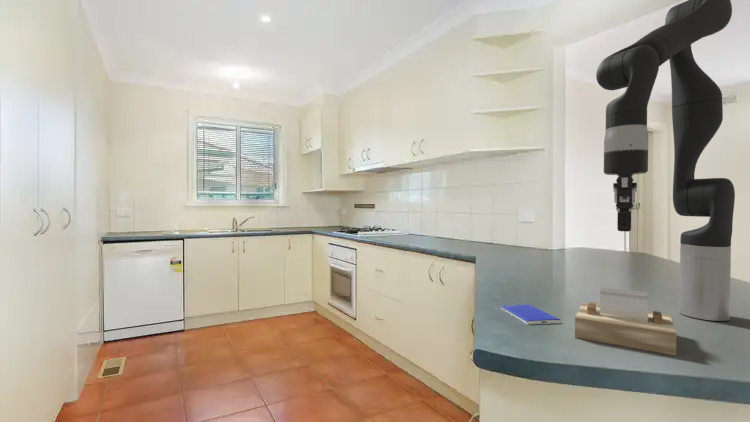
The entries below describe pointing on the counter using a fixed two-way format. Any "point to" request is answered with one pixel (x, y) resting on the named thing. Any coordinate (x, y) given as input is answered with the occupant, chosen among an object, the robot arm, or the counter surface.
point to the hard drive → (530, 314)
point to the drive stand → (627, 330)
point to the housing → (624, 304)
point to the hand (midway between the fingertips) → (624, 230)
